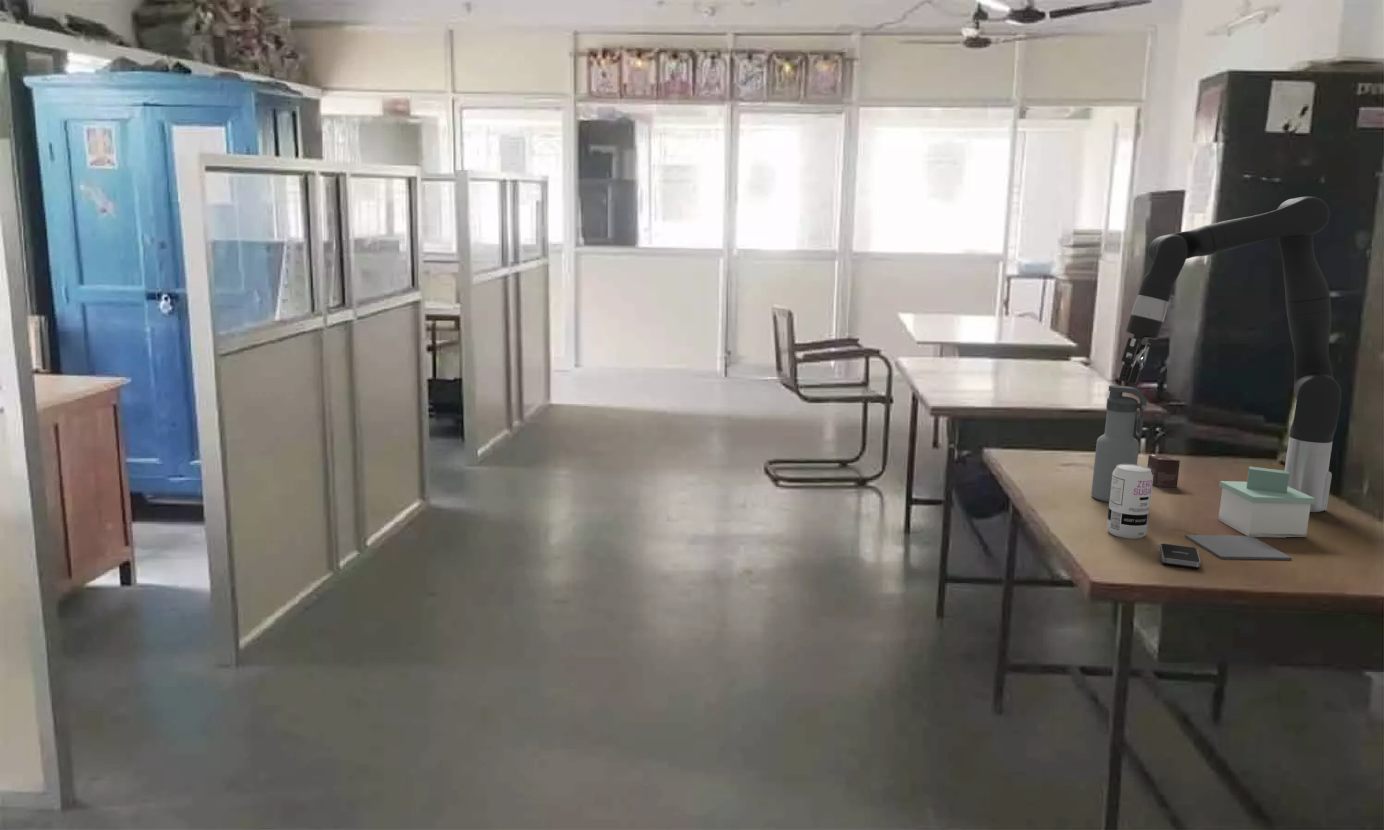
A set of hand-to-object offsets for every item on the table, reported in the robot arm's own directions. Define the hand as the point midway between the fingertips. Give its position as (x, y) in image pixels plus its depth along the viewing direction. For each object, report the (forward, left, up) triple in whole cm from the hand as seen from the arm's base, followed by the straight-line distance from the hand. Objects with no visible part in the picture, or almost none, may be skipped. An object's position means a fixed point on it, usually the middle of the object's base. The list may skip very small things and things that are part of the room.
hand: (1127, 382), depth 264 cm
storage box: (-24, +24, -29) cm, 44 cm away
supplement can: (+10, +30, -29) cm, 43 cm away
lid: (-24, +24, -21) cm, 40 cm away
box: (-20, -16, -30) cm, 39 cm away
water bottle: (0, 0, -29) cm, 29 cm away
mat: (-10, +39, -29) cm, 50 cm away
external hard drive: (+7, +48, -30) cm, 57 cm away
